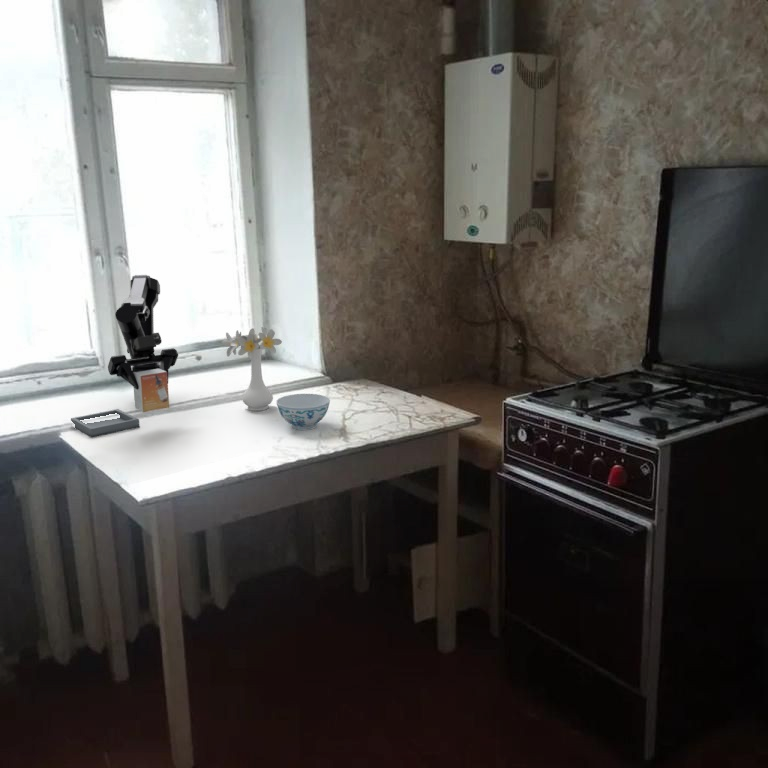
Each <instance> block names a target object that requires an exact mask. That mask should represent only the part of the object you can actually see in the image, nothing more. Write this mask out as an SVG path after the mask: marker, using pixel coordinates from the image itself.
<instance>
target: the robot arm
mask: <svg viewBox="0 0 768 768" xmlns="http://www.w3.org/2000/svg"><path fill="white" fill-rule="evenodd" d="M131 277H132V278H131V279H130V282H129V283H130V292H129V296H128V297H127V298H125V299H123V301H122V302H121V306H119V307H118V308H117V310H116V312H115V319H116V321H117V324H118V326H119V329H120V331H121V334H122V337H123V340H124V343H125V346H126V352H127V354H129V357H130V358H127V357H126V355H125V354H119V355H112V356H111V357H110V358H109V361H108V366H107V370H108V374H109V375H110V376H114V375H115V376H117V377H120V378H122V379H124V380H125V381H127V382H128V383H129V384H130V385H131V386H132V387H133V389H134V388H135V389H137V390H138V388H139V386H138V383H137V381H136V378H135V376H134V374H133V372H140V371H147V370H153V369H157V368H159V369H162V370H164V371H166V372H167V379H168V380H169V369H171V367H174V366H175V364H176V362H177V360H178V357H179V353H178V351H177V349H176V348H174V347H173V348H167V349H166V348H165V349H162V350H161V352H160V354H155V348H156V347H157V346H159V345H161V344H162V337H161V335H160V333H159V332H154V308H155V306H157V304H158V302H159V295H161V284H160V282H159V280H158V279H155V278H153V277H151V276H150V275H147V274H134V275H132V276H131Z"/></svg>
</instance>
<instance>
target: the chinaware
mask: <svg viewBox="0 0 768 768" xmlns="http://www.w3.org/2000/svg"><path fill="white" fill-rule="evenodd" d="M330 401H331V400H330V398H329V397H328V396H326V395H323V394H318V393H296V394H288V395H285V396H282V397H279V398H278V399H277V400H276V406H277V409H278V413H279V414H280V415H281V417H282V419H283V420H285V422H286V423H288V424H290V425H291V427H292V429H294V430H297V429H298V430H299V431H306V430H307V431H309V430H313V429H315V428H316V427H317V426H316V425H317V424H318V423H319V422H320V421H322V420H323V418H324V417H325V416H326V414H327V412H328V410H329V406H330ZM312 428H313V429H312ZM308 429H309V430H308Z"/></svg>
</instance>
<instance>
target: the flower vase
mask: <svg viewBox="0 0 768 768" xmlns="http://www.w3.org/2000/svg"><path fill="white" fill-rule="evenodd" d="M275 334H276V332H275V331H274V330H273V329H272V328H271V329H269V330H268V332H267V330H266V328H264V326H261V332H258V333H256V331H255V328H253V327H252V328H251V329H249V332H248V334H245V335H242V331H240V332H239V330H236V331H235V338H232V336H231V335H230V334H229V332H225V338H226V339H227V340H226V339H223V340H222V341H221V344H222V346H224V347H226V348H227V349H226V356H227V357H230V356H231V355H232V353H233V355H234V356H236V355H237V354H238V356H243V355H245V354H247V356H248V358H249V360H250V367H251V368H250V372H251V373H250V374H251V377H250V383H249V385H248V387H247V389H246V390H245V391H244V392H243V393H242V397H241V398H242V403H243V404H245V405H246V406H247V410H249V411H253V412H261V411H267V409H268V408H269V405H270V404H271V403H272V402H273V399H274V396H273V393H272V392H271V390H270V388H268V387H267V386H266V384H265V382H264V380H263V373H262V353H263V350H266V349H268V350H269V352H271V354H276V353H277V349H276V347H275V346H279V345H281V344H282V342H283V341H282V339H280V338H274V337H275ZM260 342H261V343H260ZM259 343H260V344H259ZM238 348H240V349H238ZM237 349H238V352H237Z"/></svg>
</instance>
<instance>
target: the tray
mask: <svg viewBox="0 0 768 768" xmlns="http://www.w3.org/2000/svg"><path fill="white" fill-rule="evenodd" d="M115 413H117V414H119V415H120V418H117V419H112V420H105V421H100V422H94V423H87V424H85V423H83V422H82V421H80V420H84V419H90V418H95V417H100V416H106V415H109V414H115ZM71 421H72V422H73V423H74V424H75V428H76V430H77V431H78V432H80V433H82V434H84V435H86V436H87V437H89V438H91V439H93V438H97V437H102V436H106V435H110V434H116V433H120V432H126V431H130V430H134V429H139V428H140V427H141V426H140V419H139V418H138V417H136V416H133V415H132V414H129V413H127V412H125V411H123V410H120V409H118V408H116V409H112V410H106V411H101V412H96V413H90V414H86V415H80V416H75V417H71V418H70V422H71ZM75 428H74V429H75Z"/></svg>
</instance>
